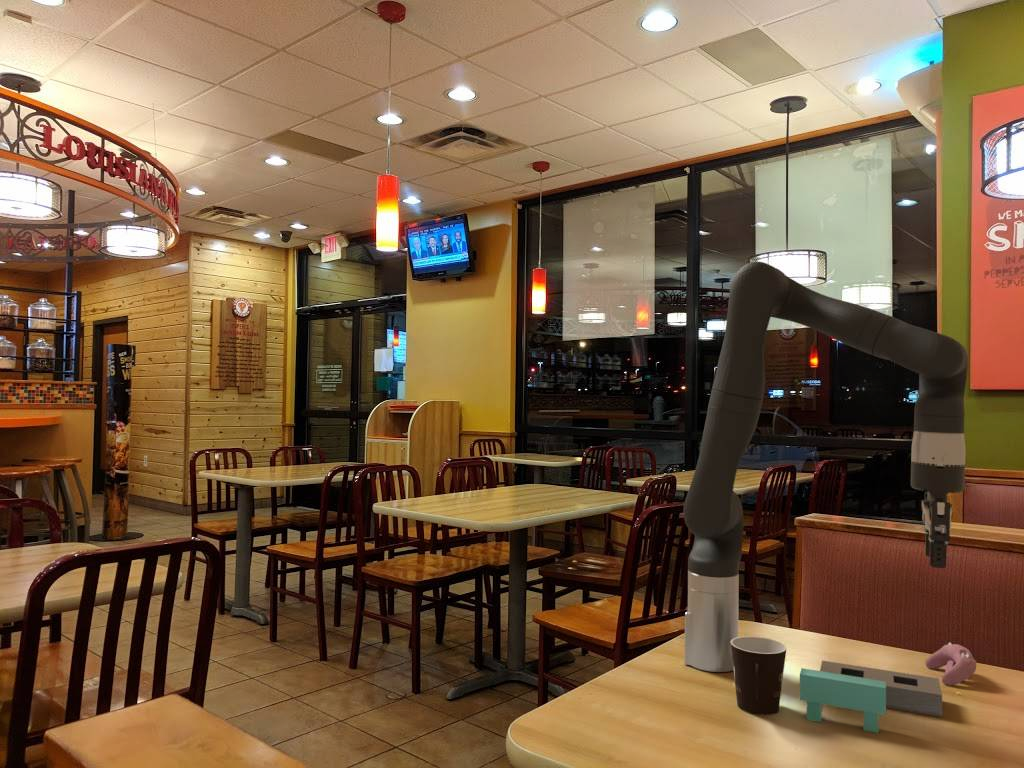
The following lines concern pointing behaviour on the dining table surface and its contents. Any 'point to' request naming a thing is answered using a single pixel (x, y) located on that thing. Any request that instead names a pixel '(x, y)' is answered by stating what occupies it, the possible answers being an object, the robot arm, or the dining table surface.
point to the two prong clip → (843, 695)
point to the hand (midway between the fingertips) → (935, 561)
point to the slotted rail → (898, 687)
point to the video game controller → (953, 663)
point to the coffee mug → (758, 673)
